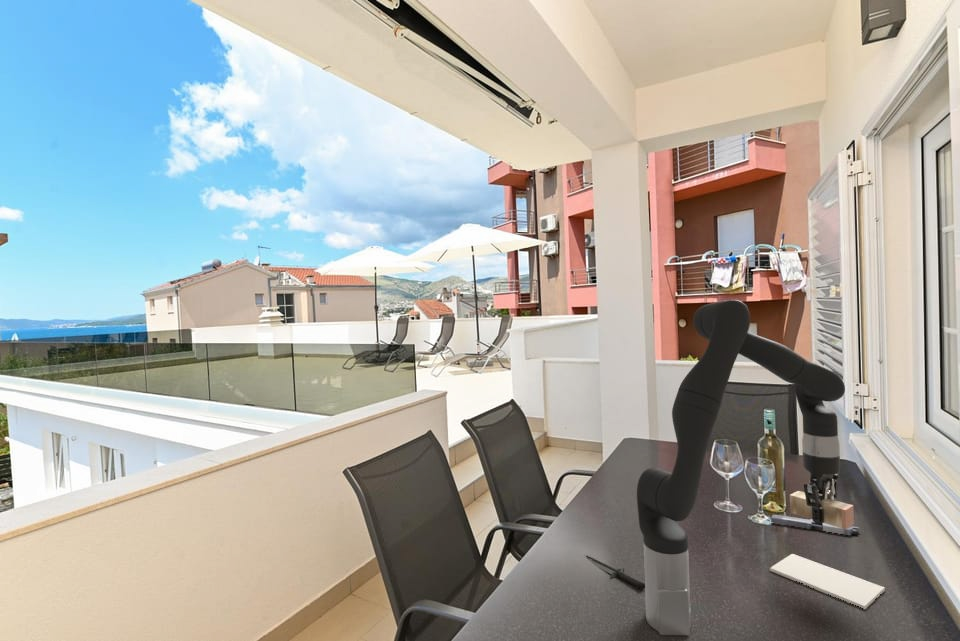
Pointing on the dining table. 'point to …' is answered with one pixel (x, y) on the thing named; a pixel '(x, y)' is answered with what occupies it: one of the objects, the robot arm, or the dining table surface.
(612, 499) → the dining table surface
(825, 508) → the maple block
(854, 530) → the handgun
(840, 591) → the mat
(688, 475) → the robot arm
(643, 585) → the knife
